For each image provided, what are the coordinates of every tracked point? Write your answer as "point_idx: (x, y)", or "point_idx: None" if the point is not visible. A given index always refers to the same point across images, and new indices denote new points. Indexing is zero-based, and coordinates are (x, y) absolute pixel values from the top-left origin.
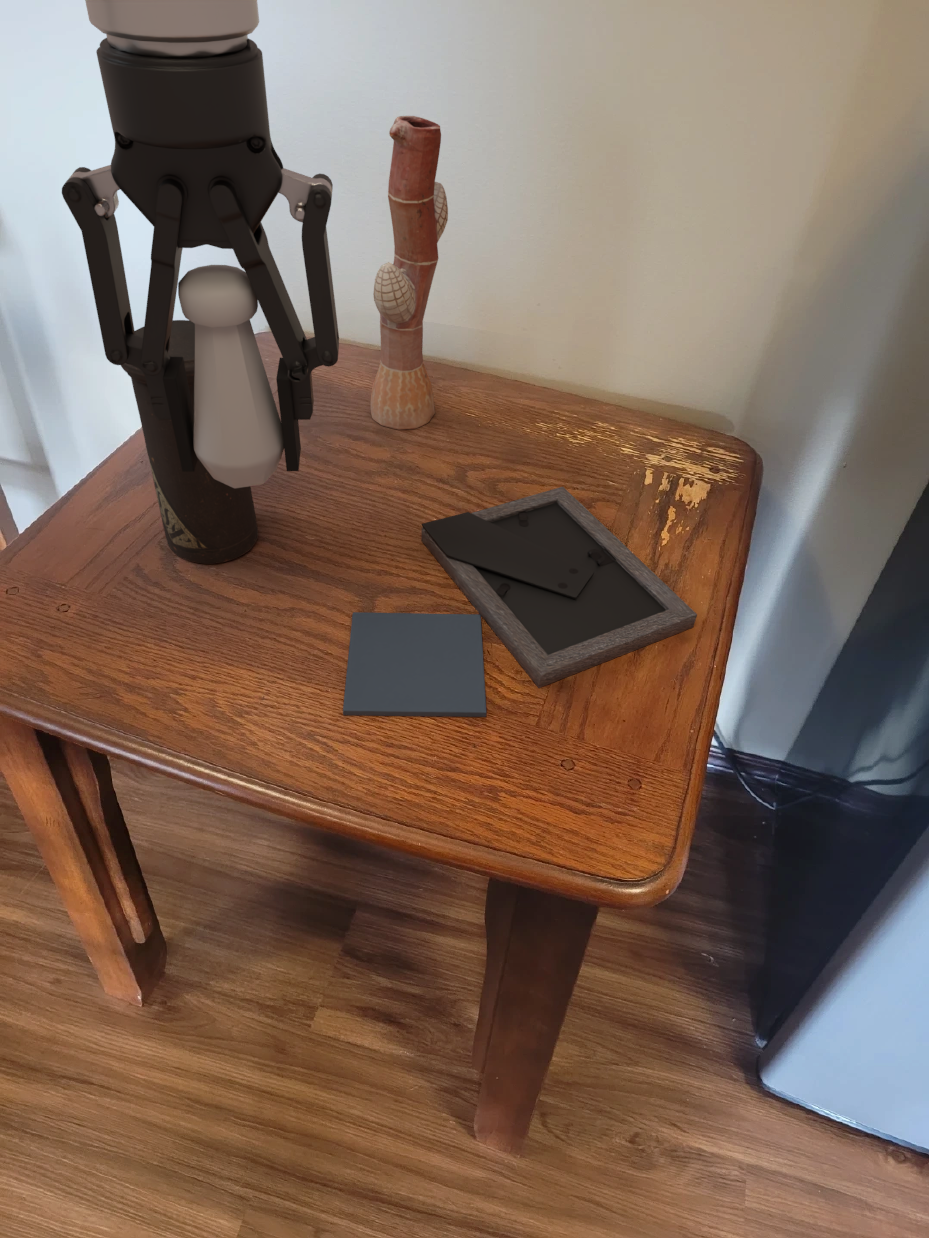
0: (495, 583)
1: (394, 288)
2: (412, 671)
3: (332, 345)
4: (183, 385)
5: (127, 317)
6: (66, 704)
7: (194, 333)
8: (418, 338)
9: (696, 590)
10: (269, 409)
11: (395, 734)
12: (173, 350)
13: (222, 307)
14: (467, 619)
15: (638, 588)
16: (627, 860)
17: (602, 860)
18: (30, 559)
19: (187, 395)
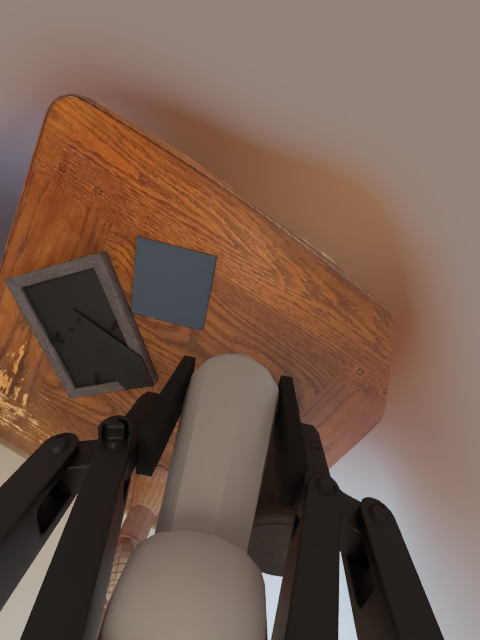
0: (118, 332)
1: (114, 575)
2: (174, 277)
3: (35, 460)
4: (280, 460)
5: (358, 593)
6: (366, 299)
7: (262, 556)
8: (122, 527)
9: (9, 305)
10: (185, 407)
11: (190, 235)
12: (282, 540)
13: (170, 583)
14: (138, 310)
15: (37, 309)
16: (73, 111)
17: (87, 114)
18: (374, 412)
19: (277, 451)
